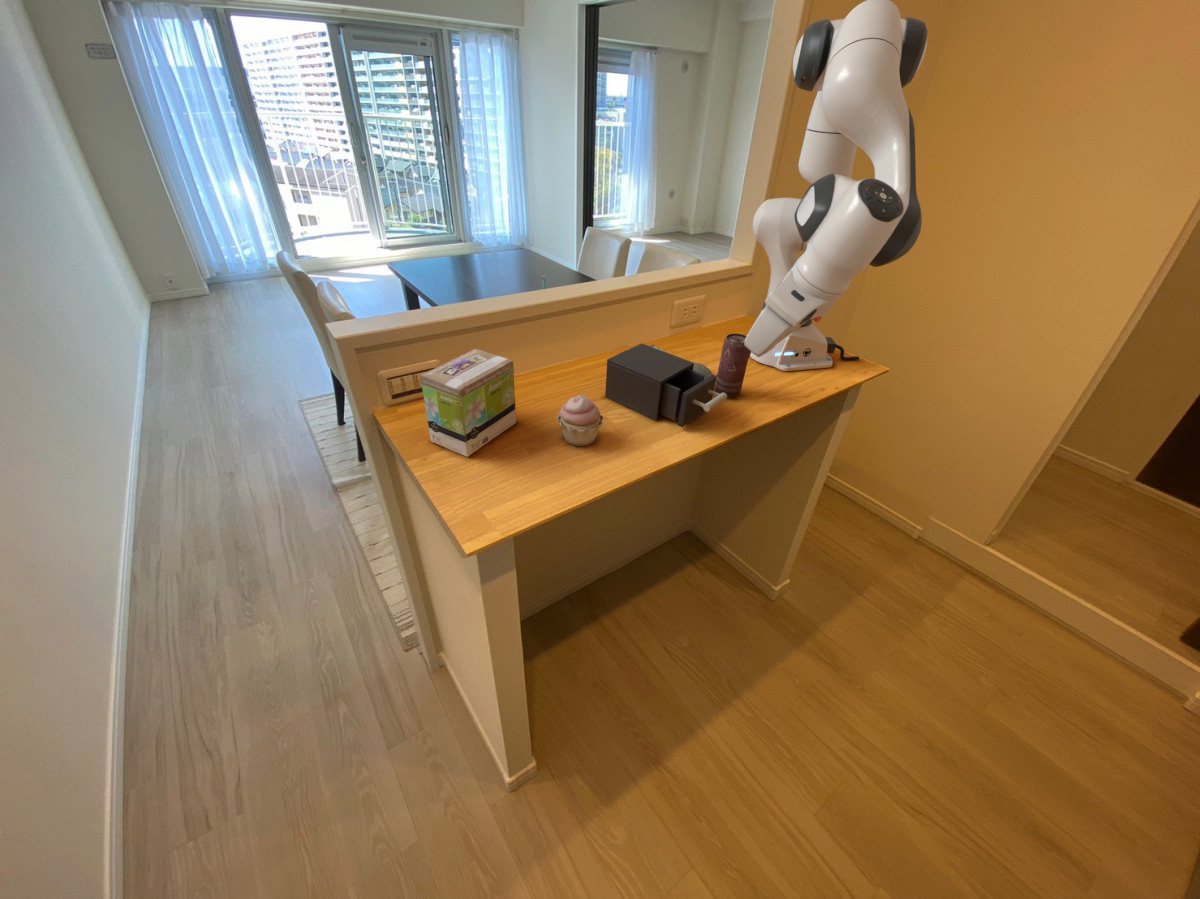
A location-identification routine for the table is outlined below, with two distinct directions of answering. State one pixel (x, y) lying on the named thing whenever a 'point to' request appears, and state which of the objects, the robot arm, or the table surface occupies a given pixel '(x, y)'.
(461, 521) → the table surface
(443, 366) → the tea box
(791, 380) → the table surface
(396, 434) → the table surface
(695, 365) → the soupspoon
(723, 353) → the can
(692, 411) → the dark drawer with handle
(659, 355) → the black drawer box
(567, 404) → the cupcake
